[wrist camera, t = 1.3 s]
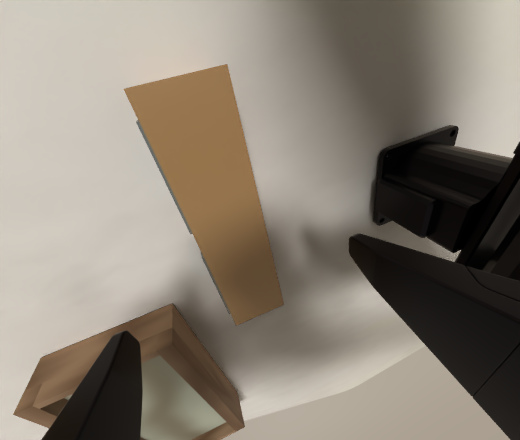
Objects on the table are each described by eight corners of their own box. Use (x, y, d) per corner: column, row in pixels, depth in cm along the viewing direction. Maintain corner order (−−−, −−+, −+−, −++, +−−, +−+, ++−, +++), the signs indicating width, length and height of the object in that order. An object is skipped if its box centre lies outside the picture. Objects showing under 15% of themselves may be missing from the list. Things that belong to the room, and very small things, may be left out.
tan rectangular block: (212, 70, 11) (227, 64, 8) (266, 270, 18) (283, 304, 16) (134, 89, 10) (119, 90, 7) (224, 288, 18) (234, 326, 15)
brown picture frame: (172, 303, 16) (172, 344, 14) (237, 393, 26) (244, 426, 24) (41, 357, 15) (13, 414, 12) (162, 430, 25) (161, 470, 22)
